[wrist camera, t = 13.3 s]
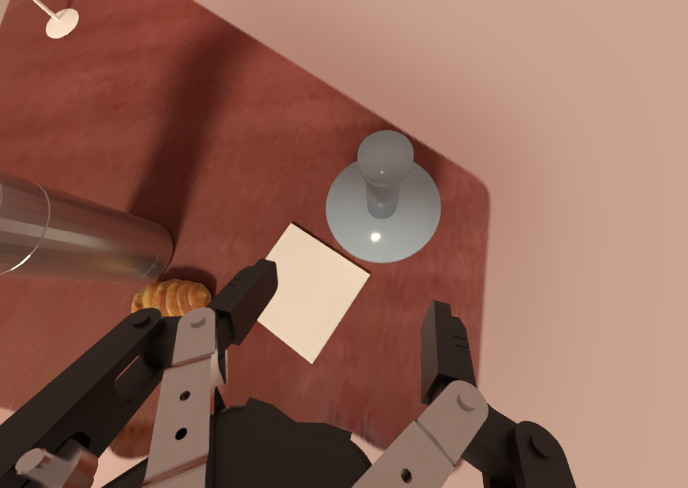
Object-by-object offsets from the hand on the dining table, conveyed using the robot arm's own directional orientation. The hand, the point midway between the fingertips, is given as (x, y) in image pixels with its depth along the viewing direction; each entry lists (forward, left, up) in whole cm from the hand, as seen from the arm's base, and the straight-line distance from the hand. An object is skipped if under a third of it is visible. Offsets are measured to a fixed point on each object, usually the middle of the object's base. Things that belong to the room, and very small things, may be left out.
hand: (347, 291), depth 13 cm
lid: (-3, +9, -13) cm, 16 cm away
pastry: (-21, -15, -20) cm, 33 cm away
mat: (-7, -4, -19) cm, 21 cm away
